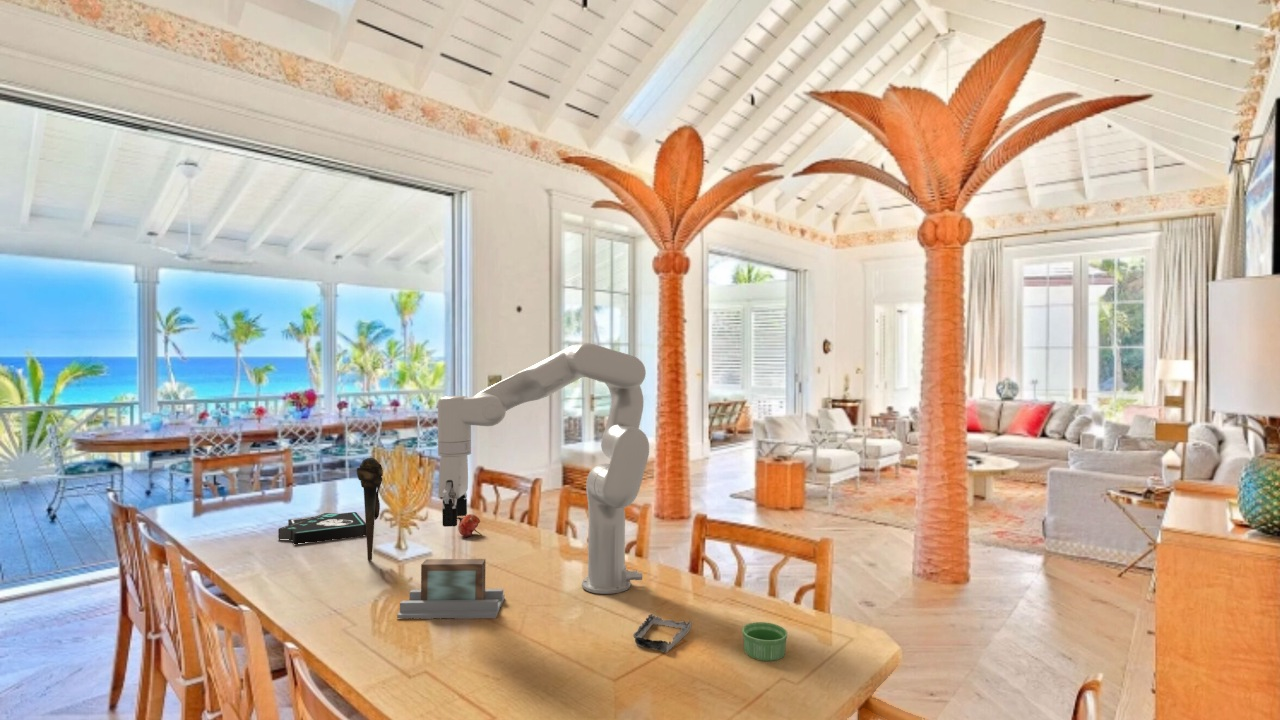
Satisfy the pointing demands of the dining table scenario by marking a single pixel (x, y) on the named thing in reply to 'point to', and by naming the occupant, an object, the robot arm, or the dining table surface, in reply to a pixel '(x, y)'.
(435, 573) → the picture frame
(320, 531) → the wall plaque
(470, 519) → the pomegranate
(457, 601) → the display stand
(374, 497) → the decorative torch
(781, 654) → the ramekin
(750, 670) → the dining table surface
